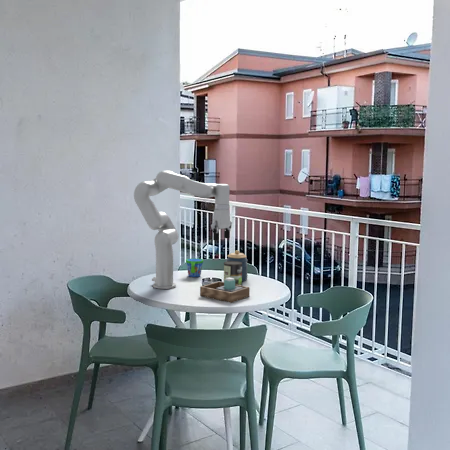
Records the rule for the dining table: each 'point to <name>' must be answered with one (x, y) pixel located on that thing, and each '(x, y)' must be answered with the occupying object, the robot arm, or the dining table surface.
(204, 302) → the dining table surface
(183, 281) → the dining table surface
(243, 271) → the canister
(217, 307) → the dining table surface
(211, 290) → the bin
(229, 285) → the teal salt shaker
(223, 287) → the socket
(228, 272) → the coffee can
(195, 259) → the snack cup
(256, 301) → the dining table surface
